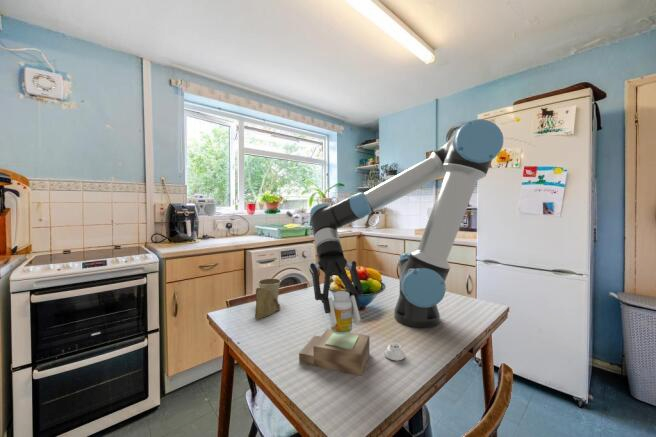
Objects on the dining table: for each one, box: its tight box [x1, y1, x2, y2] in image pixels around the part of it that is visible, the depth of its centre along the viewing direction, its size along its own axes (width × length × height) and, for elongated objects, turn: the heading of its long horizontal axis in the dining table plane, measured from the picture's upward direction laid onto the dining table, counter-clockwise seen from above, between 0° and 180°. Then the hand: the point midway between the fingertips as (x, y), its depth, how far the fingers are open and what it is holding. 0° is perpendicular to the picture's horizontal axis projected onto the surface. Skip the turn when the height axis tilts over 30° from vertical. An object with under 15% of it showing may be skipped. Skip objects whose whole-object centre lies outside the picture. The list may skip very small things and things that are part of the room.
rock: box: [254, 287, 281, 321], centre depth 101 cm, size 11×9×10 cm
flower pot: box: [257, 278, 282, 301], centre depth 114 cm, size 9×9×9 cm
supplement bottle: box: [330, 290, 353, 335], centre depth 70 cm, size 5×5×10 cm
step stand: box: [298, 328, 370, 377], centre depth 71 cm, size 16×10×5 cm, turn 70°
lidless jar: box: [384, 342, 405, 362], centre depth 72 cm, size 5×3×5 cm
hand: (346, 323), depth 67 cm, fingers closed on supplement bottle, 5 cm apart
